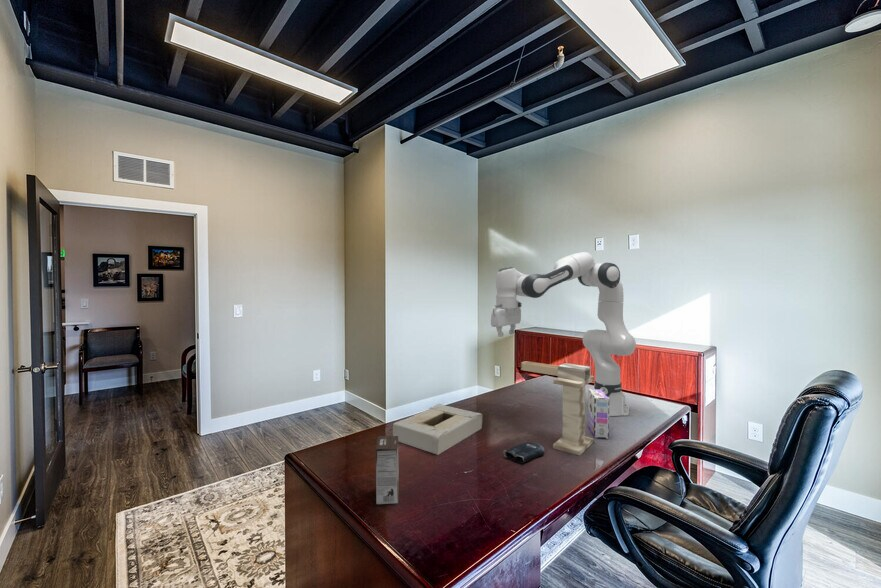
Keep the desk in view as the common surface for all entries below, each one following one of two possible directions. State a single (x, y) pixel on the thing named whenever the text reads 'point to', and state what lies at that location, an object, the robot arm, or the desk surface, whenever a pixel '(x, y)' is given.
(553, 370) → the tray
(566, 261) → the robot arm
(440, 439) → the box
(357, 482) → the desk surface
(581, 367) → the stand
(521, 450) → the electronic device
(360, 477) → the desk surface
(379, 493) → the coffee box
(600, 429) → the candy box
